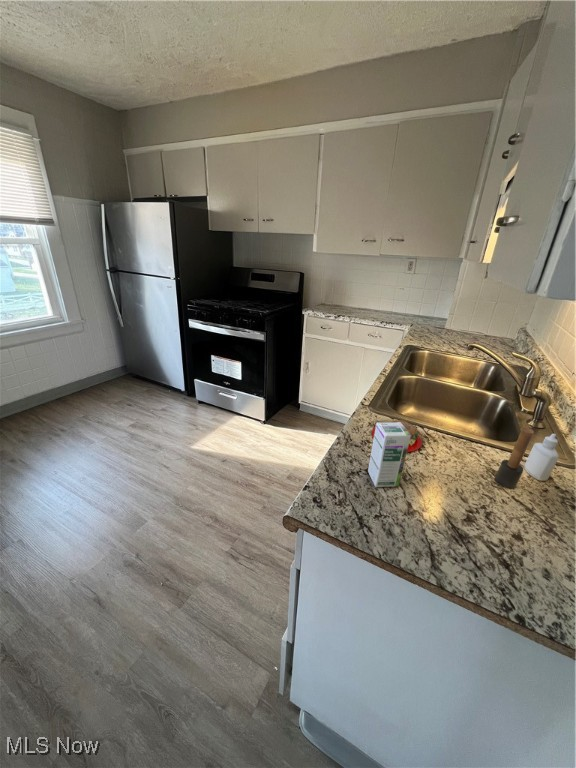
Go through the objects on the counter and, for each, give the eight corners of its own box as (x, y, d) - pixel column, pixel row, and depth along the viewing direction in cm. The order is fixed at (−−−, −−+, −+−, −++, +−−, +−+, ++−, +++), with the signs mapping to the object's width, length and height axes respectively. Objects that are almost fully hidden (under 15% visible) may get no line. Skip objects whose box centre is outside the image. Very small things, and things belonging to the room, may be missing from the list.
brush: (512, 477, 77) (535, 426, 71) (519, 490, 74) (544, 437, 67) (492, 474, 78) (513, 423, 72) (498, 486, 74) (520, 433, 68)
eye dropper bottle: (526, 477, 78) (545, 437, 72) (522, 464, 82) (540, 426, 77) (547, 483, 76) (569, 443, 71) (542, 470, 81) (562, 431, 75)
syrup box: (375, 488, 72) (386, 436, 66) (367, 470, 78) (376, 421, 71) (398, 487, 73) (412, 435, 67) (389, 469, 78) (400, 420, 72)
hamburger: (378, 419, 100) (382, 403, 97) (425, 433, 93) (430, 416, 91) (365, 441, 88) (368, 424, 86) (417, 459, 82) (422, 440, 80)
